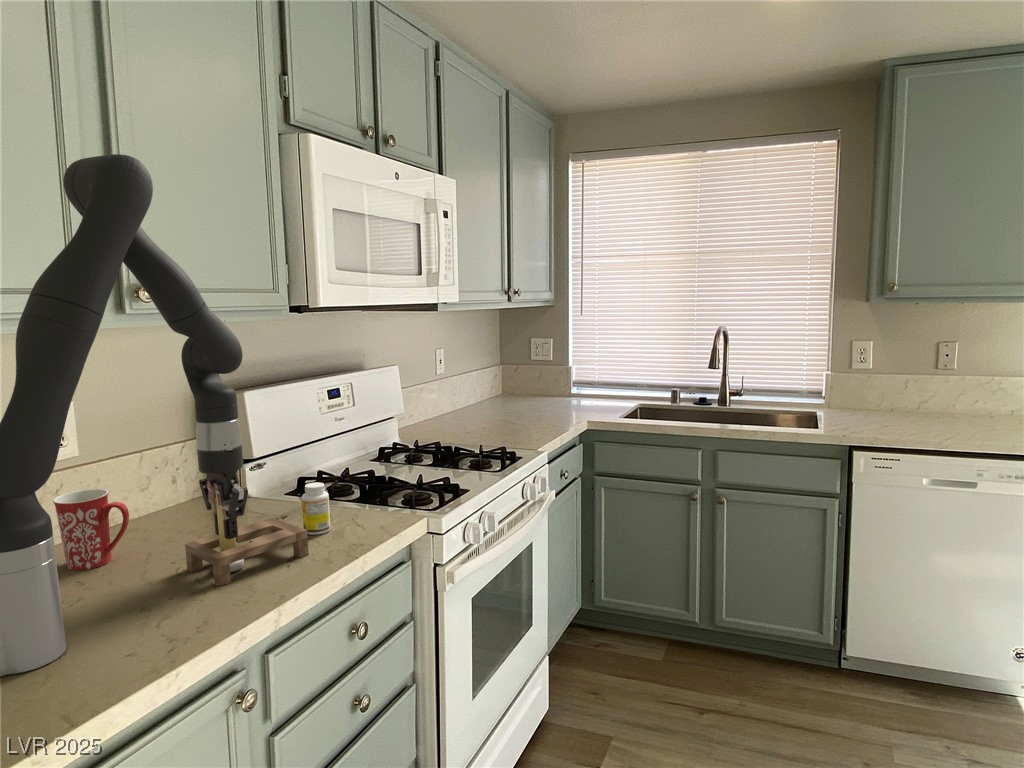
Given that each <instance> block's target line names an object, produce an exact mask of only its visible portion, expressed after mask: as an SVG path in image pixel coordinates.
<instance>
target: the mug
mask: <svg viewBox="0 0 1024 768" xmlns="http://www.w3.org/2000/svg"><path fill="white" fill-rule="evenodd" d="M108 496H109V490H107V489H104V488H94V489H93V488H91V489H82V490H76V491H72V492H69V493H68V492H66V493H63V494H61V495H59V496H57V497H54V499H53V500H52V503H53V504H54V506H55V513H56V517H57V521H58V527H59V531H60V532H59V533H60V538H61V542H62V547H63V553H64V557H65V564H66V568H67V570H69V569H71V570H70V571H73V570H81V571H86V570H85V569H88V570H93V569H96V567H97V568H99V566H100V567H103V566H105V565H106V564H108V563H109V562H111V560H112V551H113V550H114V549H115V547H116V546H117V544H118V543H119V542H120V540H121V539H122V538H123V536H124V534H125V533H126V530H127V528H128V525H129V522H130V513H129V512H130V511H129V509H128V507H127V505H125V504H124V503H123V502H120V501H114V502H110V503H109V500H108V498H109V497H108ZM113 508H117V509H118V510H119V511H120V512H121V514H122V515H121V516H122V524H121V527H120V530H119V532H118V533H117V535H116V536H115V538H114V539H113V541H111V532H110V530H111V529H110V516H109V515H110V511H111V510H112V509H113ZM104 564H105V565H104ZM92 568H93V569H92Z"/></svg>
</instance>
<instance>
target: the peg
mask: <svg viewBox="0 0 1024 768" xmlns="http://www.w3.org/2000/svg"><path fill="white" fill-rule="evenodd" d="M215 493H216V492H215ZM230 500H231V499H229V500H225V501H224V502H228V501H230ZM216 506H217V518H218V530H219V543H220V547H219V552H222V551H225V550H229V549H232V548H235V547H237V542H236V537H235V538H232V539H226V538H225V535H224V523H223V520H224V518H223V513H222V508H221V507H219V505H218V499H217V493H216ZM228 510H229V506H228ZM229 566H230V573H231V572H236V571H239V570H241V569H242V568H244V566H245V559H242V560H239V561H236V562H233V563H230V564H229Z"/></svg>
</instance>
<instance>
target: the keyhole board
mask: <svg viewBox="0 0 1024 768" xmlns="http://www.w3.org/2000/svg"><path fill="white" fill-rule="evenodd" d="M237 528H238V536H237V537H236V544H237V543H238V544H241V543H244V544H242V545H239V546H236V547H235V548H232V549H229V550H225V551H222V552H220V551H217V550H215V549H217V548H220V543H219V535H217V534H214V535H211V536H210V535H209V536H207V537H204V538H200V539H197V540H195V541H190V542H187V543H185V544H184V546H185V557H186V558H185V561H186V570H187V571H189V572H191V573H195V572H198V571H201V570H203V569H204V565H203V561H205V562H207V563H209V564H210V565H212V572H213V584H214V583H215V585H216V584H217V585H216V586H218V585H219V586H218V587H222V586H221V585H223V586H224V584H225V585H227V584H230V582H231V572H230V566H229V564H230V563H233V562H236V561H239V560H242V559H244V560H245V559H247V558H251V557H254V556H256V555H260V554H262V553H267V552H268V551H271V550H274V549H277V548H280V547H284V546H286V545H289V544H292V548H293V552H292V553H293V556H294V557H296V556H297V557H296V558H298V557H301V558H303V557H302V556H304V557H306V556H305V555H307V556H309V541H308V539H309V538H308V534H307V530H305V529H304V527H299V526H296V525H293V524H291V523H288V522H285V521H282V520H279V519H277V518H273V517H272V518H269V519H265V520H262V521H257V522H255V523H252V524H248V525H244V526H241V527H237ZM247 541H249V543H245V542H247ZM231 583H232V582H231Z"/></svg>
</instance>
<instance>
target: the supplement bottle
mask: <svg viewBox="0 0 1024 768" xmlns="http://www.w3.org/2000/svg"><path fill="white" fill-rule="evenodd" d="M325 490H326V488H325V484H324V483H323V482H319V481H318V482H310V483H306V484H305V486H304V492H305V493H303V494H302V495H301V505H302V509H301V510H302V521H303V529H305V530H307V535H310V536H312V535H313V536H317V535H322V534H326V533H328V532H329V531H330V530H331V514H330V513H331V511H330V496H329V492H328V491H325Z"/></svg>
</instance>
